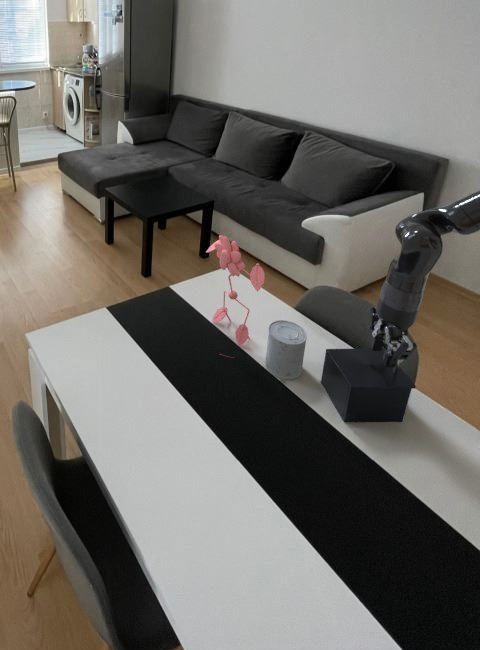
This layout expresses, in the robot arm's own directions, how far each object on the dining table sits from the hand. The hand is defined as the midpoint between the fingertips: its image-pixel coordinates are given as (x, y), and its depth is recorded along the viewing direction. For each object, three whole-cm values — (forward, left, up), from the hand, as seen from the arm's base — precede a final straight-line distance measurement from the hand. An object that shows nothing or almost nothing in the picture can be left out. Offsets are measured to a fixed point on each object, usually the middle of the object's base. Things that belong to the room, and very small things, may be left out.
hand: (382, 357), depth 104 cm
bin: (+3, 0, -14) cm, 15 cm away
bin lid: (+3, 0, -3) cm, 4 cm away
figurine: (+32, -25, -15) cm, 43 cm away
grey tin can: (+18, -12, -15) cm, 26 cm away
